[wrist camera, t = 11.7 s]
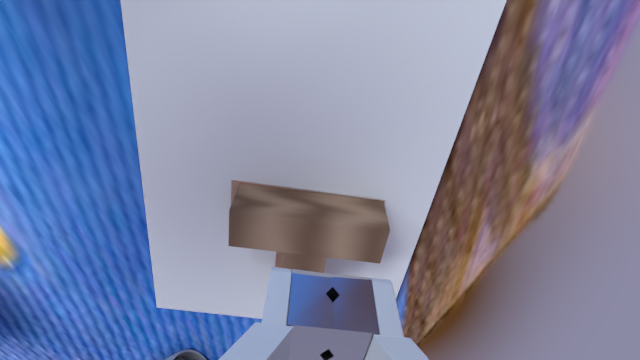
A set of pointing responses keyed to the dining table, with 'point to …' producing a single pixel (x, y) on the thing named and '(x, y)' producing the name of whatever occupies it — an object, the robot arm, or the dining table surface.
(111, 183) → the dining table surface
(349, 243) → the t block
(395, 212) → the mat
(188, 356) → the ceramic mug
